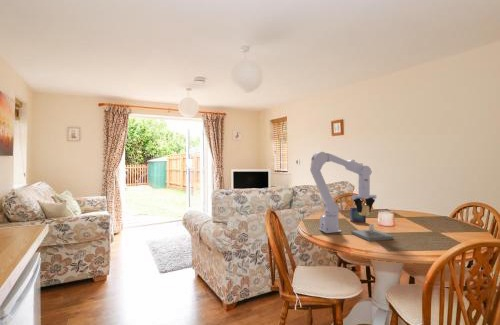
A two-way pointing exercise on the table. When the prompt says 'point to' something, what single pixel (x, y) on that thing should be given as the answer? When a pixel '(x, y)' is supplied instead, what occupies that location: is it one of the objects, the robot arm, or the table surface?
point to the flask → (356, 215)
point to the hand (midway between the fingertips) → (364, 212)
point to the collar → (364, 210)
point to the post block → (372, 234)
